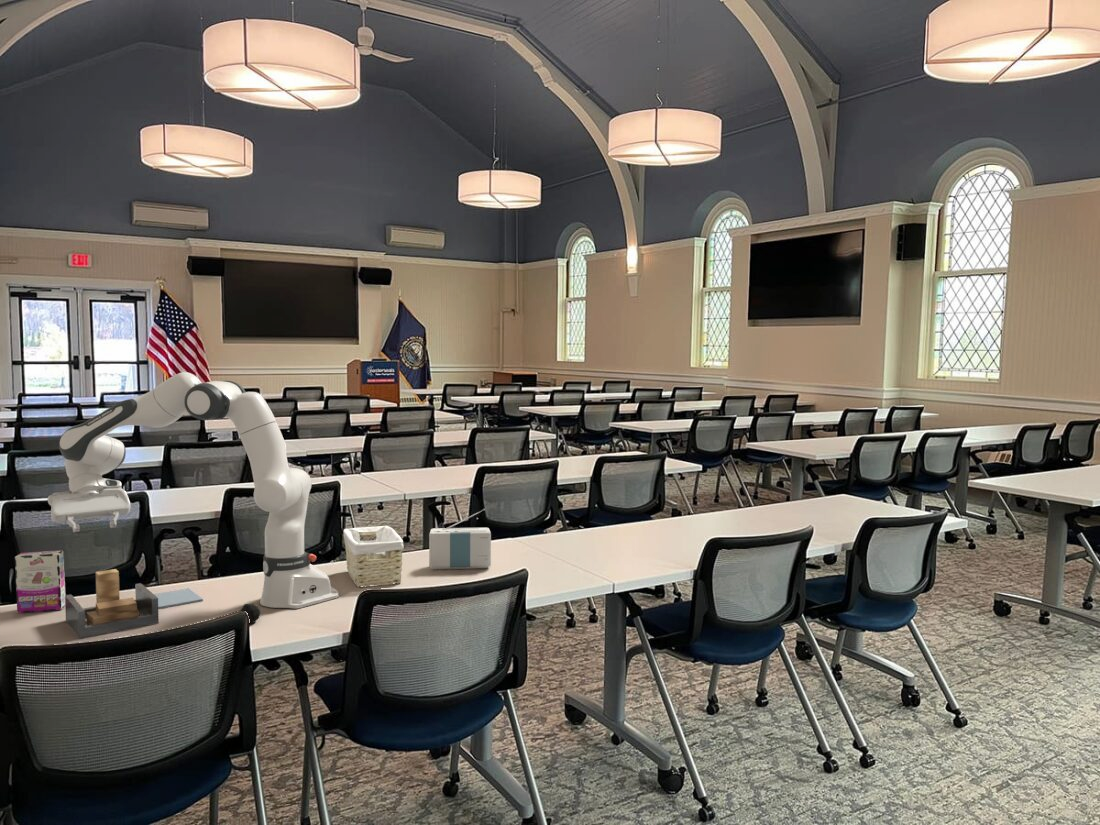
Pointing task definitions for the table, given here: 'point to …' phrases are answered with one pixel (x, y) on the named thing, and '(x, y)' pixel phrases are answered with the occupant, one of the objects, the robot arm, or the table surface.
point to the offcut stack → (113, 611)
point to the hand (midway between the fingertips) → (95, 528)
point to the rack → (77, 616)
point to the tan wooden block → (107, 585)
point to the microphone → (251, 612)
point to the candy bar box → (40, 581)
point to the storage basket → (374, 556)
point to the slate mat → (177, 598)
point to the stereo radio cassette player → (459, 547)
